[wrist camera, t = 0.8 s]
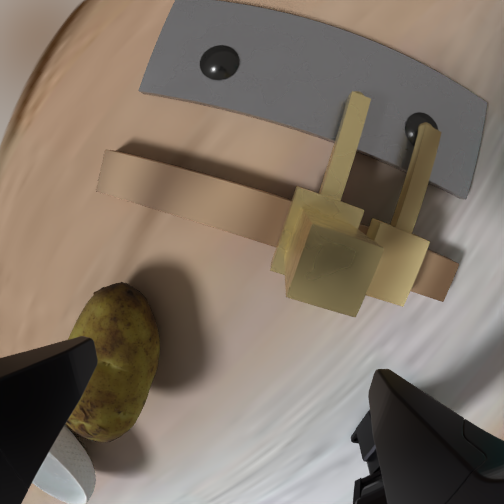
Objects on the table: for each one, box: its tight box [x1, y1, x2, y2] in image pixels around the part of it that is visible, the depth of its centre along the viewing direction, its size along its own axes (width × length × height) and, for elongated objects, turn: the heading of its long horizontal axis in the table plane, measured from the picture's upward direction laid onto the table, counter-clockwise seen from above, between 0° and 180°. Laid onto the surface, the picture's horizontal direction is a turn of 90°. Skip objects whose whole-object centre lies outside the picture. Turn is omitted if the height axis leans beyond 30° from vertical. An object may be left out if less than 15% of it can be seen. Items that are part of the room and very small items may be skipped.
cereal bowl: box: [32, 425, 96, 504], centre depth 26 cm, size 17×17×7 cm
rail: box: [96, 122, 459, 306], centre depth 18 cm, size 26×12×3 cm, turn 73°
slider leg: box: [270, 91, 384, 317], centre depth 15 cm, size 4×12×8 cm, turn 163°
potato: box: [66, 282, 160, 443], centre depth 20 cm, size 8×13×8 cm, turn 141°
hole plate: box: [139, 0, 487, 199], centre depth 18 cm, size 24×8×1 cm, turn 73°
